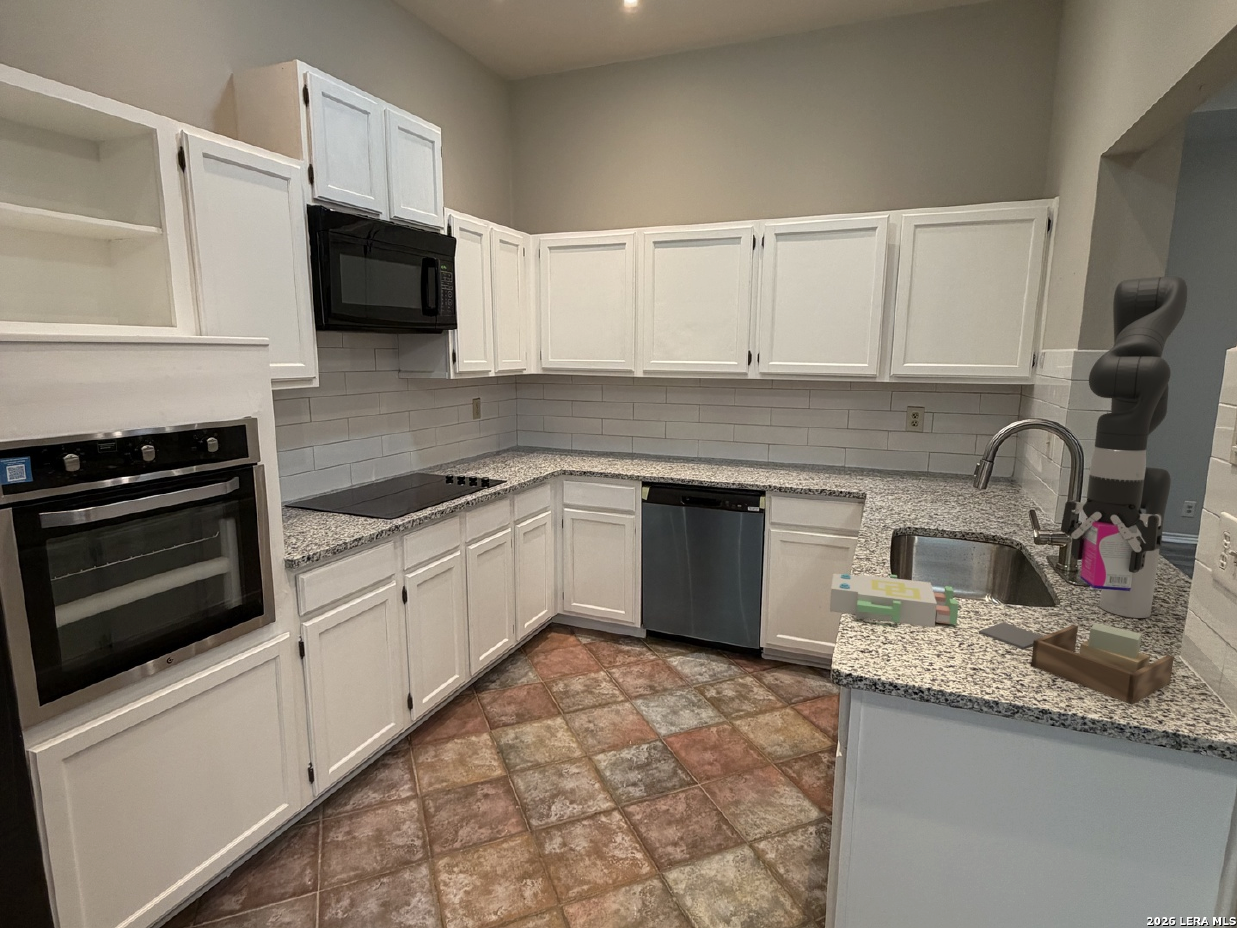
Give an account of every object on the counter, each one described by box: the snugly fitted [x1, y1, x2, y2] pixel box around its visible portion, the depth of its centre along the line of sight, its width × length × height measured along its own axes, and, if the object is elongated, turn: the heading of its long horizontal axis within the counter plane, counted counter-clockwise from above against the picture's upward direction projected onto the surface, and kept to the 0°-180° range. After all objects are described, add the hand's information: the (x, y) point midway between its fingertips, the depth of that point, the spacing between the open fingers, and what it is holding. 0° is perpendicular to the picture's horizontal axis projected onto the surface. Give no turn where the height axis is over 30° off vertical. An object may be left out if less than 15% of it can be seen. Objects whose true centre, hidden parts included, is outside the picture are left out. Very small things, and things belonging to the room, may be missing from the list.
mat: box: [978, 621, 1045, 650], centre depth 134 cm, size 9×9×1 cm
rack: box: [1030, 624, 1175, 705], centre depth 117 cm, size 14×16×5 cm
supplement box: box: [1079, 517, 1137, 591], centre depth 114 cm, size 6×6×12 cm
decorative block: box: [829, 573, 959, 628], centre depth 148 cm, size 26×6×20 cm
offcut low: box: [1078, 639, 1151, 673], centre depth 120 cm, size 5×9×4 cm, turn 30°
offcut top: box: [1088, 622, 1143, 659], centre depth 120 cm, size 4×7×4 cm, turn 44°
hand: (1105, 565), depth 114 cm, fingers closed on supplement box, 8 cm apart
